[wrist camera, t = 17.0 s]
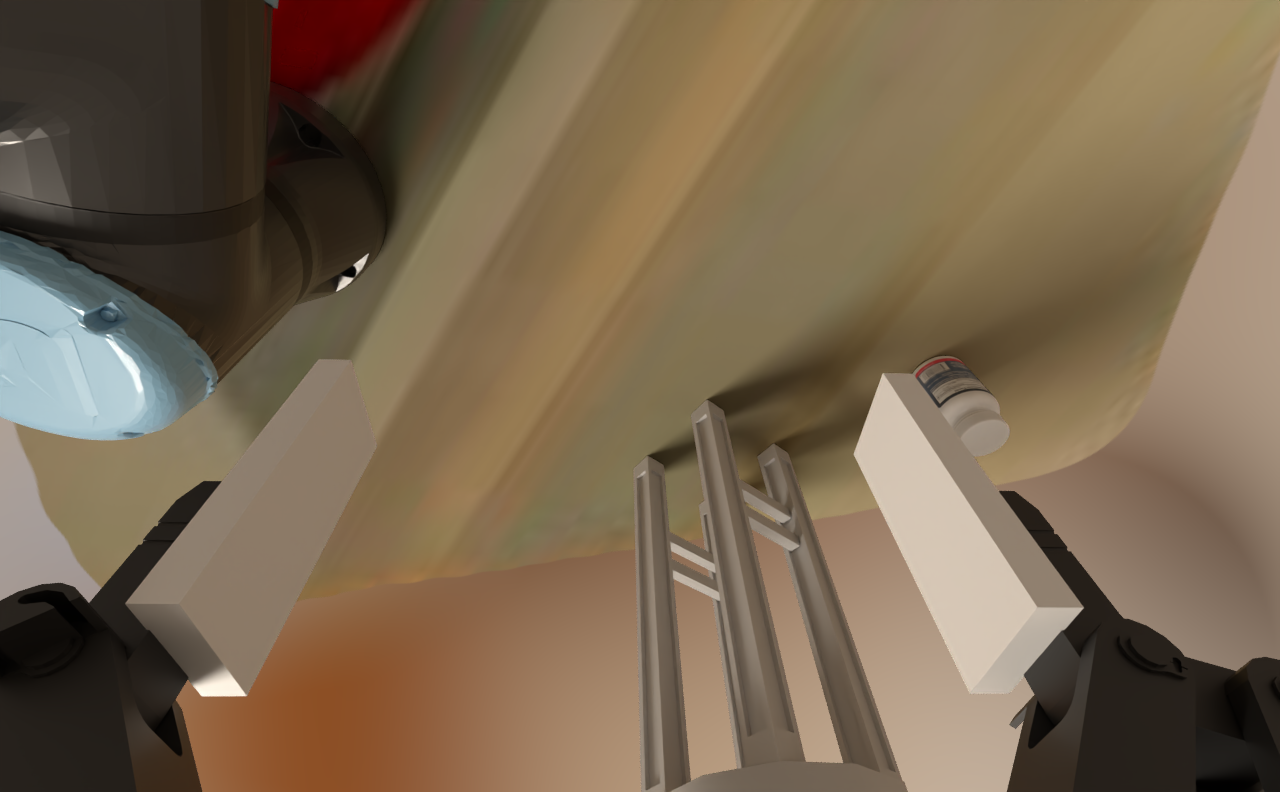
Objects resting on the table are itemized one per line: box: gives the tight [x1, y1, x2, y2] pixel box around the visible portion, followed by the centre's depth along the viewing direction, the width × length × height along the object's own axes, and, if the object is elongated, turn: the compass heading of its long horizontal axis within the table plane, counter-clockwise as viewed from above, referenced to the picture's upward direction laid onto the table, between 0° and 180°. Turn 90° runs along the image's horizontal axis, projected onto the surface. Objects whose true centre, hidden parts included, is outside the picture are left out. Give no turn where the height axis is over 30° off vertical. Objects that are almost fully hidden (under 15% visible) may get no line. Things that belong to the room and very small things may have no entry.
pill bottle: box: [913, 356, 1010, 456], centre depth 50 cm, size 5×5×9 cm
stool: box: [634, 400, 908, 792], centre depth 45 cm, size 16×16×35 cm
